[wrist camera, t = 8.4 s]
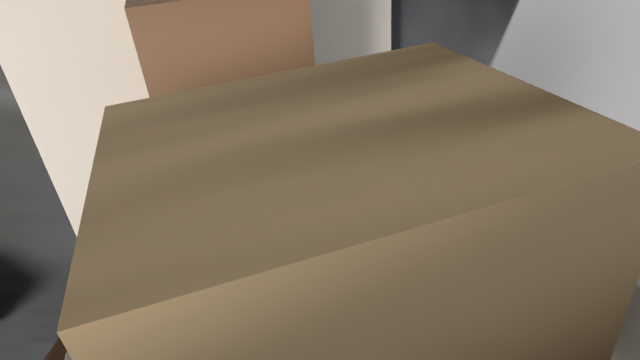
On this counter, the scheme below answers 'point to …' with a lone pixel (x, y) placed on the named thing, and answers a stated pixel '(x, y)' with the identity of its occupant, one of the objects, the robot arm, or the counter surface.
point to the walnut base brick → (217, 40)
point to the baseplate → (122, 71)
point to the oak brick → (357, 220)
